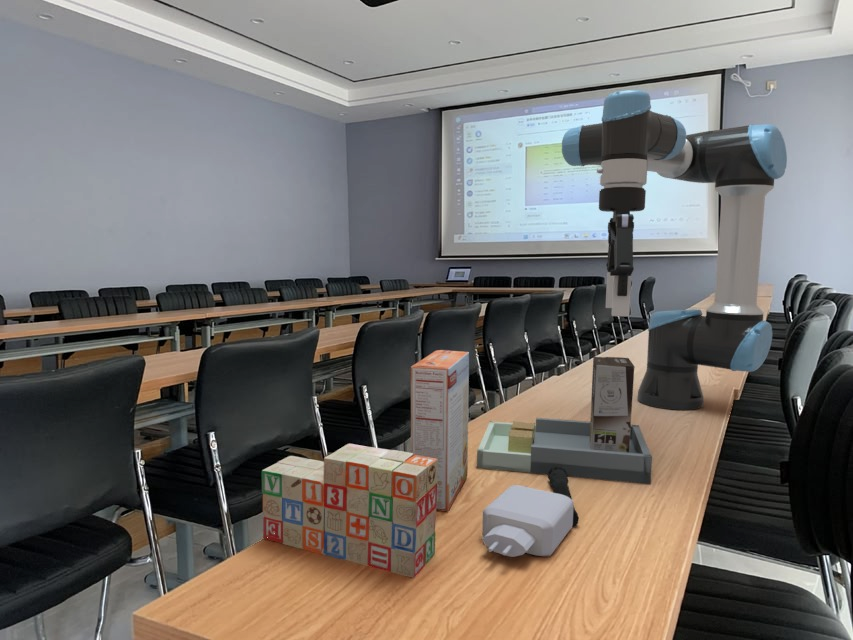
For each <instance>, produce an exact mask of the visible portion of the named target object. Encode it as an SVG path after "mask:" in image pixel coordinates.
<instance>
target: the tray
mask: <svg viewBox="0 0 853 640" xmlns="http://www.w3.org/2000/svg"><path fill="white" fill-rule="evenodd" d="M512 424H513V422H502V421H489V423H488V425H487V428H486V429H485V432H484V435H483V437H482V438H481V441H480V443H479V445H478V448H477V450H476V469H486V470H487V469H488V470H497V471H507V472H516V473H517V472H518V473H527V474H531V473H530V467H531V453H519V452H508V442H509V433H510V429H511V427H512ZM535 432H536V424H535ZM534 438H535V434H534Z"/></svg>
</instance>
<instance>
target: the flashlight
mask: <svg viewBox="0 0 853 640" xmlns="http://www.w3.org/2000/svg"><path fill="white" fill-rule="evenodd" d="M547 478H548V480H549V484H550V486H551V488H552V490H553V493H557V494H562V495H565V496H567V497H569V498H570V499H572V500H573V498H572V495H571V491H570V488H569V485H568V484H569V479H568V476H567V472H566V471H565V469H564V468H563V467H561V466H554V467H552V468H550V470H549V471H548V475H547ZM579 517H580V516H579V514H578V512H577V510H576V507H574V508H573V526H572V528H575V527H576V526H577V525H578V523H579V519H580V518H579Z"/></svg>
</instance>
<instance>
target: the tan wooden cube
mask: <svg viewBox="0 0 853 640" xmlns="http://www.w3.org/2000/svg"><path fill="white" fill-rule="evenodd" d="M512 423H513V424H512V427H511V430H524V431H533V439H532V445H533V444H534V434H535V425H536V422H535V423H534V422H526V421H524V422H522V421H513V422H512Z"/></svg>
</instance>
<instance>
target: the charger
mask: <svg viewBox="0 0 853 640" xmlns="http://www.w3.org/2000/svg"><path fill="white" fill-rule="evenodd" d="M573 508H575V505H574V500H573V498H572V499H570V498H569V497H567V496H565V495H562V494H557V493H554V491H553V492H552V491H548V490H543V489H538V488H534V487H533V488H532V487H528V486H524V485H518V484H513V485H510V486H509V487H508V488H507V489H506V490H505V491H503V492H502V493H501V494H500V495H498V496H497V498H496V499H494V500H493V501H492V502H491V503H489V504H488V506H486V507H485V508H484V509H483V510H482V529H481V532H482V539H481V541H482V542H483V543H484V545H485V546H486V547H488V548H487V550H488V552H494V553H496V554H501V555H502V556H507V557H511V558H513V557H514V558H515V557H519V556H523V555H525V553H526V554H528V555H534V556H538V557H550V556H551V555H552V554H553V553H554V552H555V550H556V549H557V548H558V546H559V545H560V544H561V542H562V541H563V540H564V538H565V537H566V535H567V534H568V533H569V532H570V530H571V529H572V528H573V527H572V526H573Z"/></svg>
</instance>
